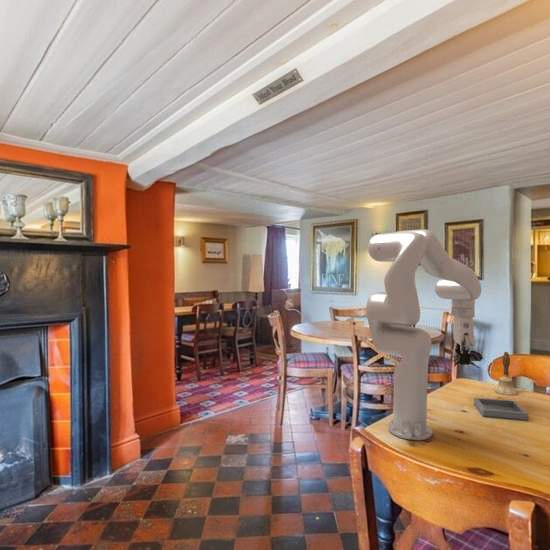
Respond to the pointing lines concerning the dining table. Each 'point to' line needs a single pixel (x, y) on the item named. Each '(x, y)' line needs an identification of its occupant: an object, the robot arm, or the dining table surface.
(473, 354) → the eagle figurine
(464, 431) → the dining table surface
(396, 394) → the robot arm
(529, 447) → the dining table surface
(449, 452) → the dining table surface
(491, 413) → the holder
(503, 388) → the hand bell
